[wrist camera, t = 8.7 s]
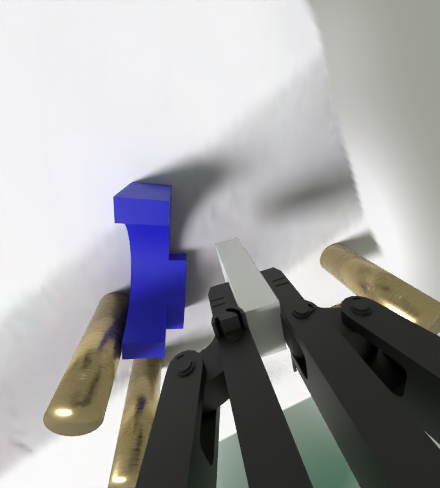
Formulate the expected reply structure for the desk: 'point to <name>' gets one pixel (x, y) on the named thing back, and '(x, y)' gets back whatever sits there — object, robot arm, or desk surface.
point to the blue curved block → (150, 270)
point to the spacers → (149, 369)
